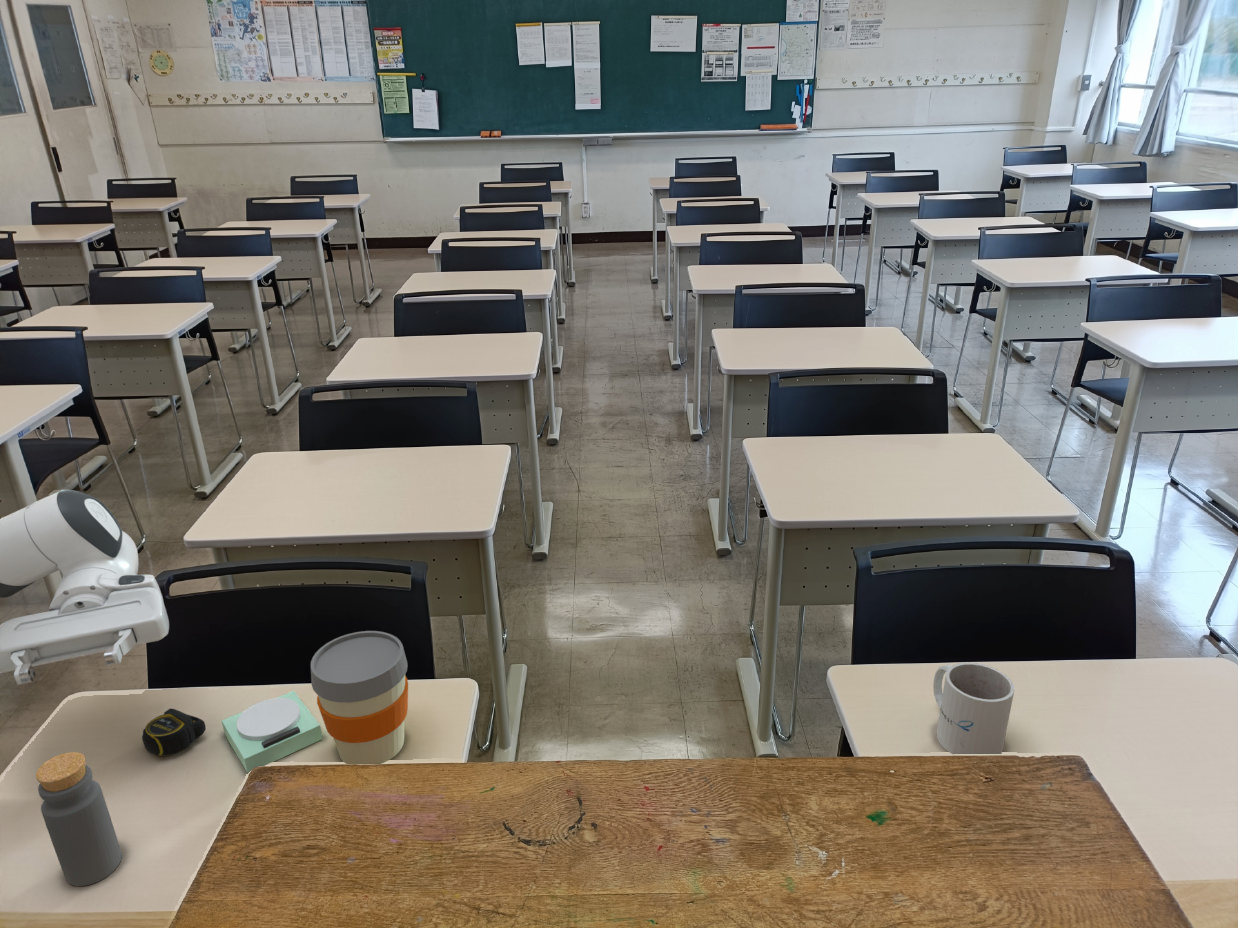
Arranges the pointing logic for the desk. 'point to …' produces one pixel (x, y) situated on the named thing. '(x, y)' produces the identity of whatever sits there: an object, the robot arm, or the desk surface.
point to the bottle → (77, 819)
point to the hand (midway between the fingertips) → (67, 669)
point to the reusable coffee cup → (363, 695)
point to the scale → (271, 730)
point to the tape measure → (171, 732)
